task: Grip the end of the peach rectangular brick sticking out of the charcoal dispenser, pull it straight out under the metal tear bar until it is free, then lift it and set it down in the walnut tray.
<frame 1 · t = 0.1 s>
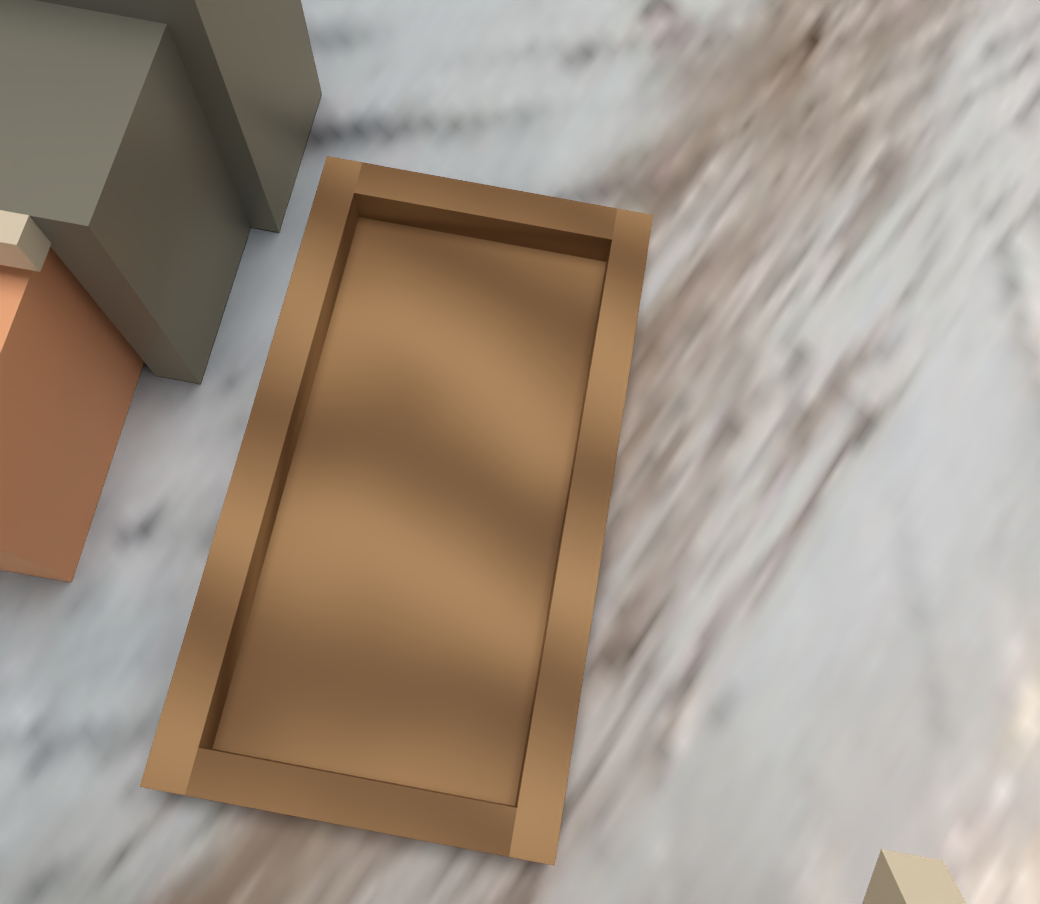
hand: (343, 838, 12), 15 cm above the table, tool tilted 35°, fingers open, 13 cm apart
tray: (429, 486, 29), on the table
dispenser: (109, 201, 32), on the table
peach rectangular brick: (41, 386, 30), on the table
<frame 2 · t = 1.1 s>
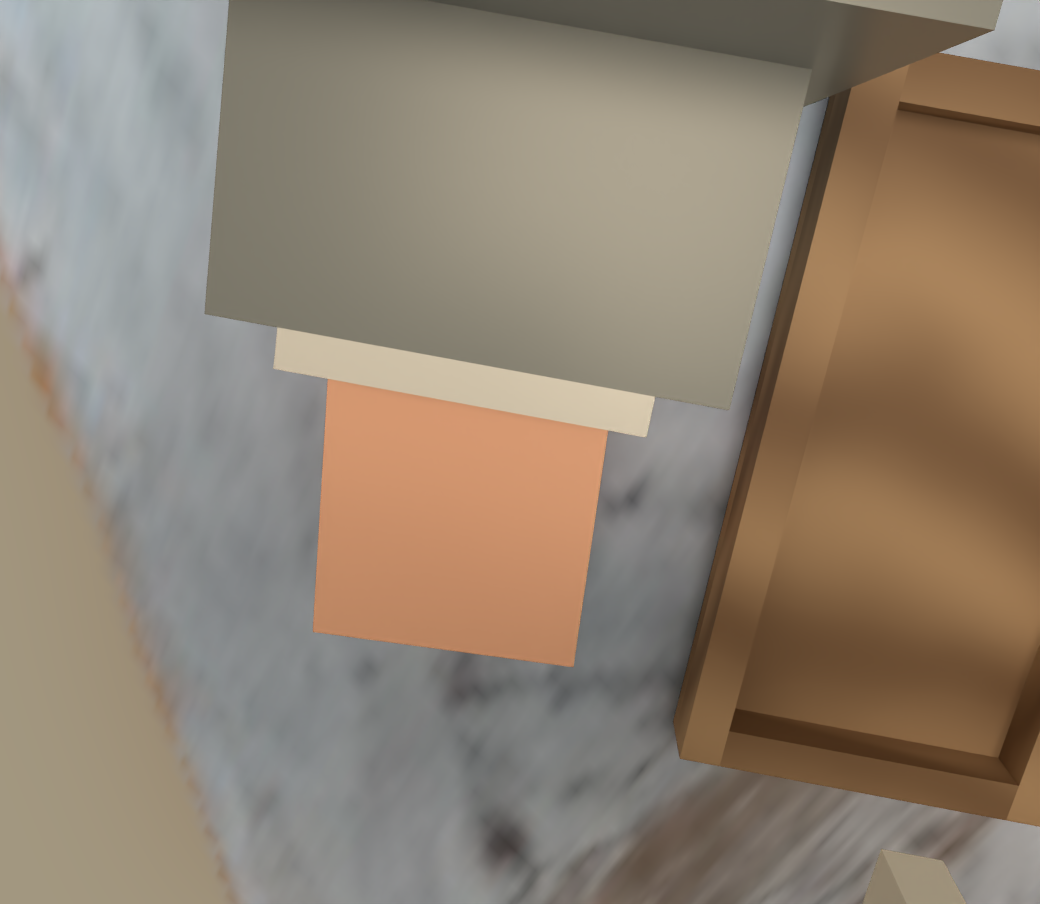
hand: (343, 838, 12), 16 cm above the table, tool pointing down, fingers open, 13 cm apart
tray: (936, 456, 26), on the table
dispenser: (542, 82, 24), on the table
peach rectangular brick: (499, 339, 27), on the table
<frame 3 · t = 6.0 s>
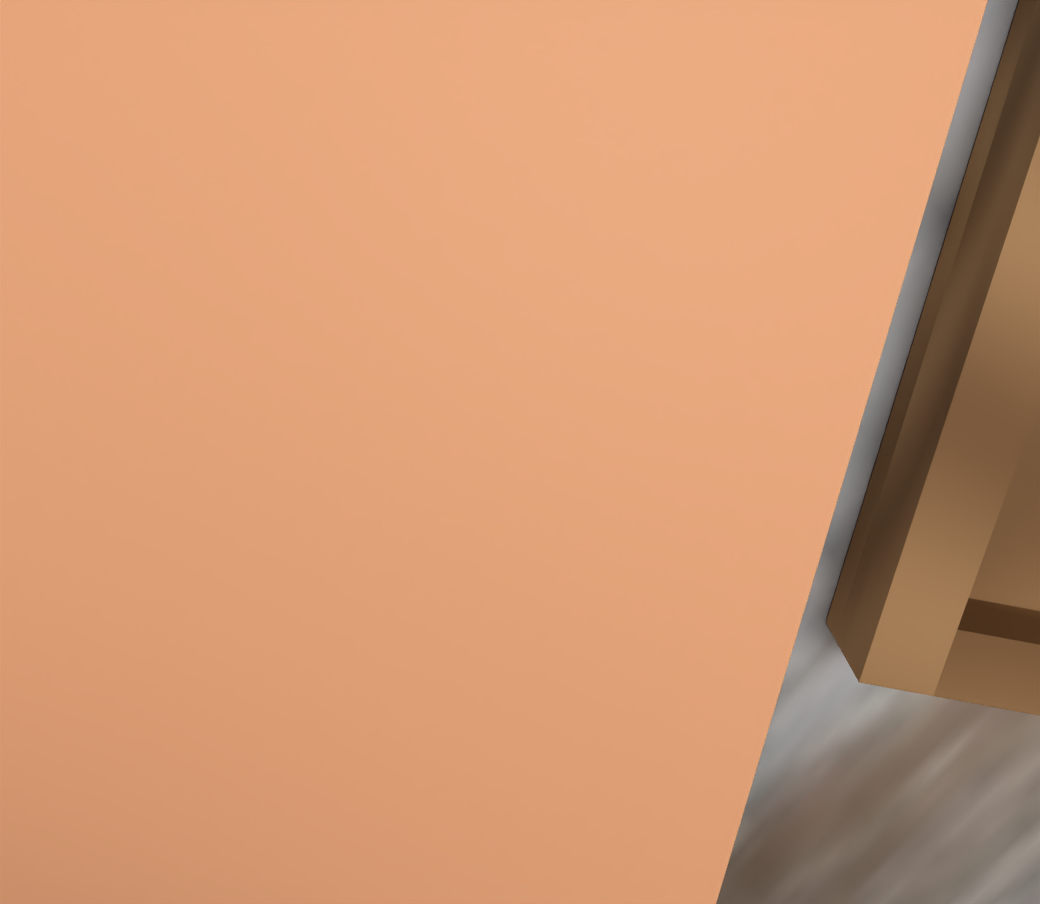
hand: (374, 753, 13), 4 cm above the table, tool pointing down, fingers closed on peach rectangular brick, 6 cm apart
peach rectangular brick: (428, 455, 13), point 3 cm above the table, touching gripper
when the fingers open (3 cm above the table, at t = 9.3 s): peach rectangular brick drops 1 cm, resting on tray.
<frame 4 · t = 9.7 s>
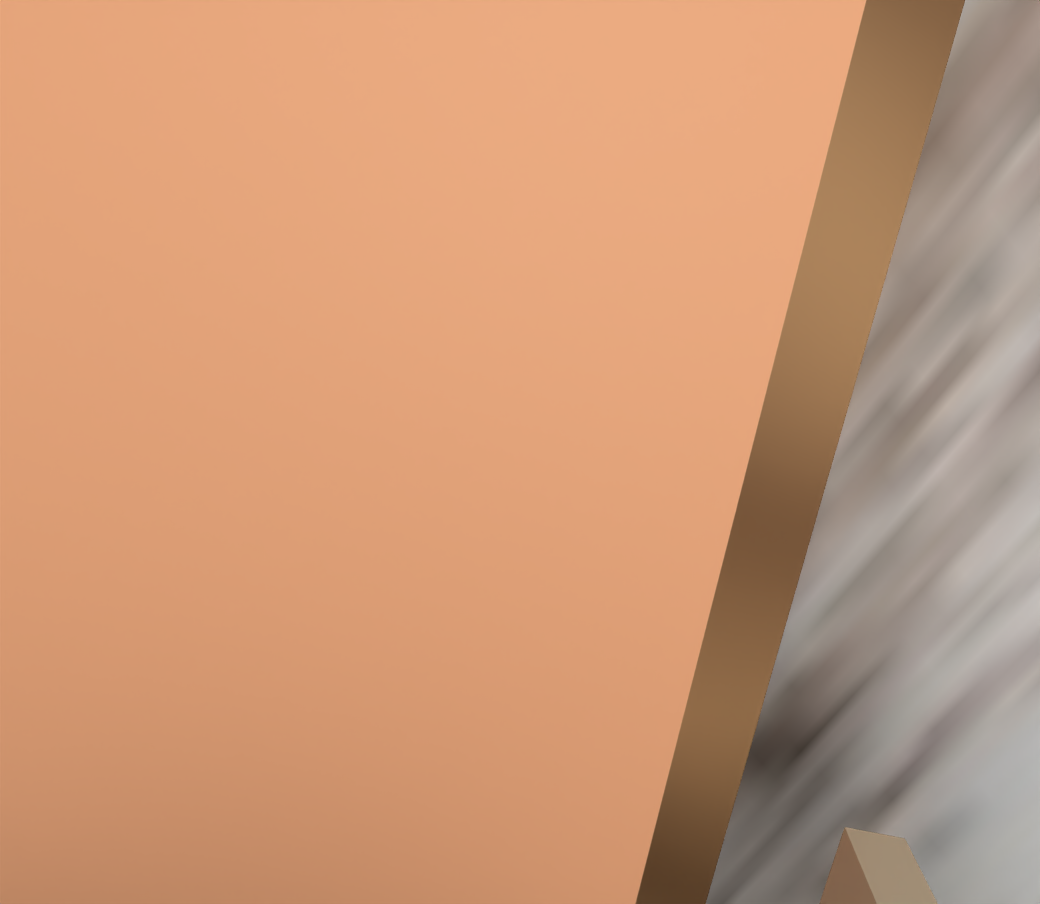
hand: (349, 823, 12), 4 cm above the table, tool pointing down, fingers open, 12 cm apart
tray: (439, 466, 15), on the table
peach rectangular brick: (434, 437, 14), point 1 cm above the table, touching tray
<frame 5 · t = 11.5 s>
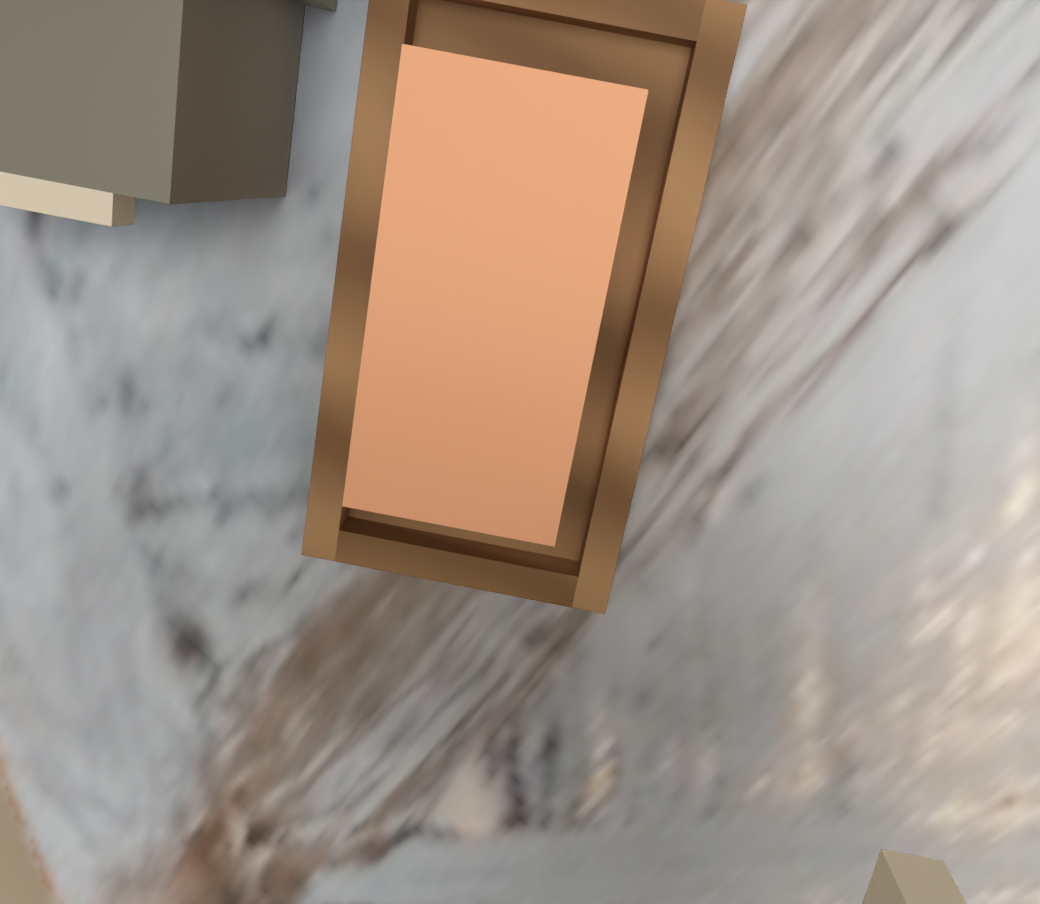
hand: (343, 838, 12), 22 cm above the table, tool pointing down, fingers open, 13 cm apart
tray: (506, 299, 32), on the table
peach rectangular brick: (506, 281, 31), point 1 cm above the table, touching tray
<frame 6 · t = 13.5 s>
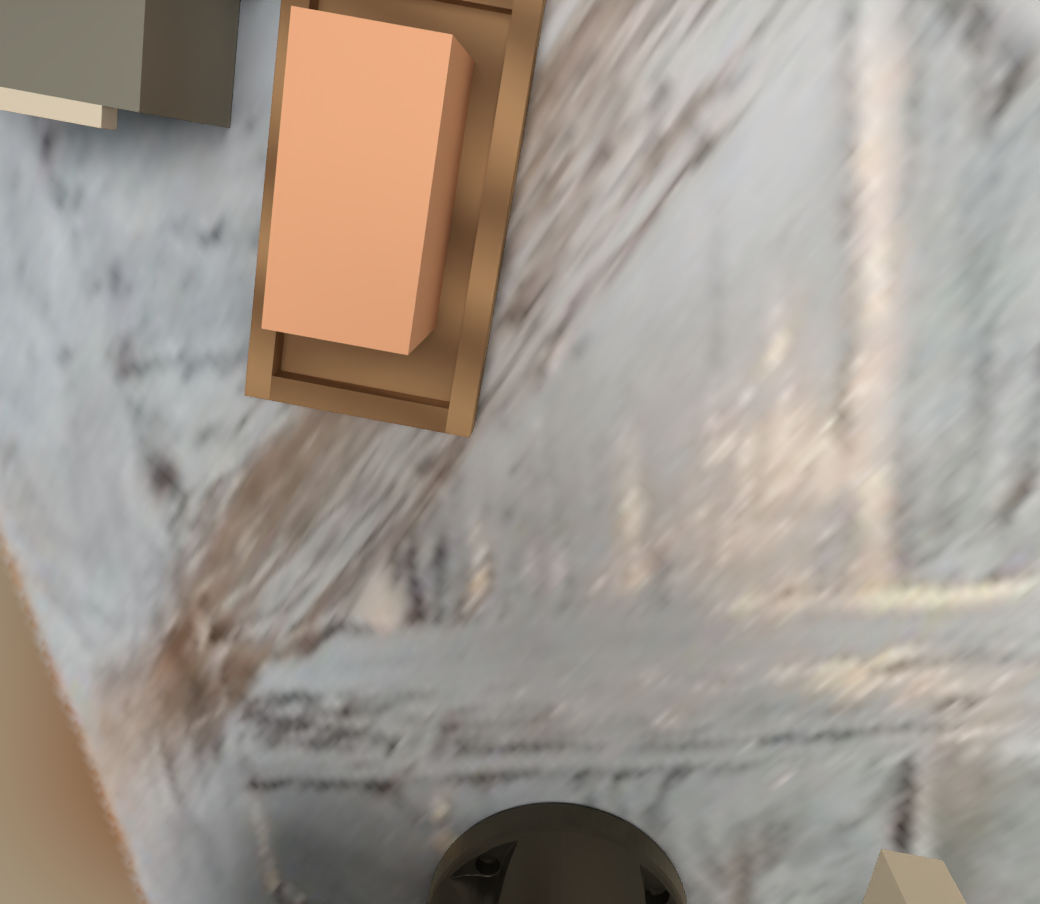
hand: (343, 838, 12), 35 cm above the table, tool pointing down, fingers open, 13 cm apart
tray: (393, 203, 43), on the table
peach rectangular brick: (390, 188, 42), point 1 cm above the table, touching tray
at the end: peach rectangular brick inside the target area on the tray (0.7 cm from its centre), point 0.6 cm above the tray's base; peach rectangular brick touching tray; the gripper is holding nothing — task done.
